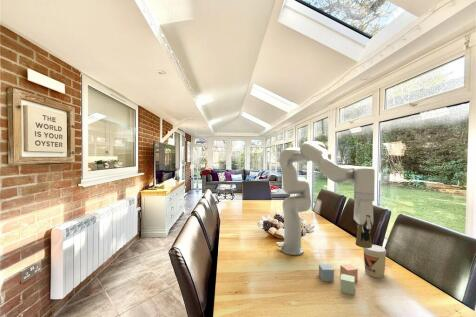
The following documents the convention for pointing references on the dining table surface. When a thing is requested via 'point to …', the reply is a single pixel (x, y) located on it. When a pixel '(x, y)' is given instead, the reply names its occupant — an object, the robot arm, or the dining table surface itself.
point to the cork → (364, 243)
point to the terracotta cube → (349, 270)
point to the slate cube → (326, 272)
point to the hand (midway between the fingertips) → (363, 239)
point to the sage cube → (347, 283)
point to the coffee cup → (375, 260)
